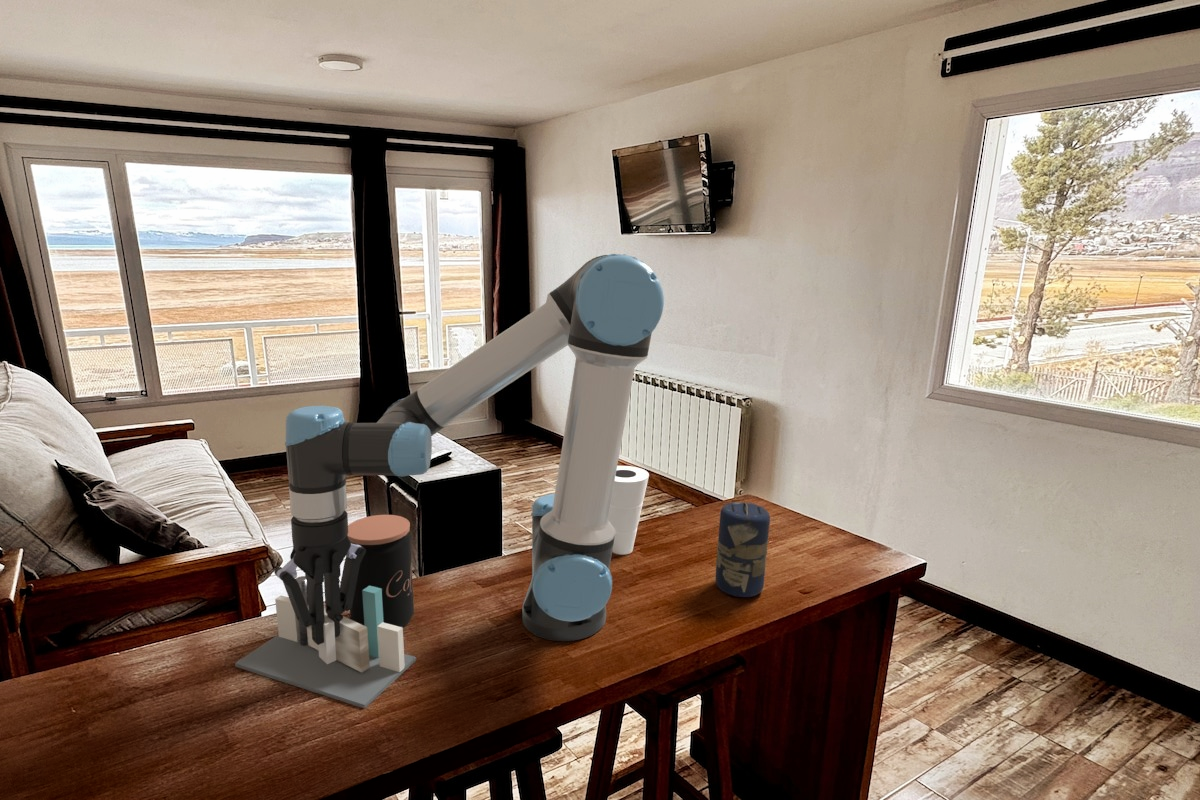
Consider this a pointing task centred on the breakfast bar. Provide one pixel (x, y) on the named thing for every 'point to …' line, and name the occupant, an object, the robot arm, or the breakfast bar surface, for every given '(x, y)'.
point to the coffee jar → (384, 566)
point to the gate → (349, 644)
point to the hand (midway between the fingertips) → (327, 658)
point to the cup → (627, 506)
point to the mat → (320, 671)
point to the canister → (742, 549)
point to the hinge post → (303, 586)
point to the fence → (387, 633)
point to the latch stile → (372, 616)
